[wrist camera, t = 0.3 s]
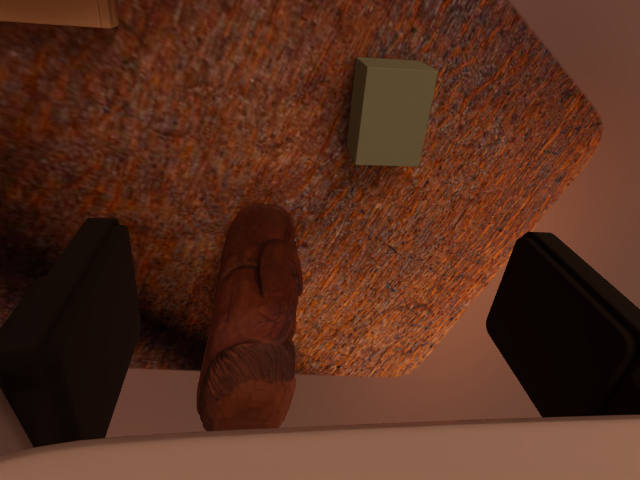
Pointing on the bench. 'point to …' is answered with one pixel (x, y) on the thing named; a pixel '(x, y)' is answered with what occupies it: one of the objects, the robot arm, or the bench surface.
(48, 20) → the frame
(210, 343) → the wooden figurine
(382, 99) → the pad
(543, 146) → the bench surface
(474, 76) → the bench surface
